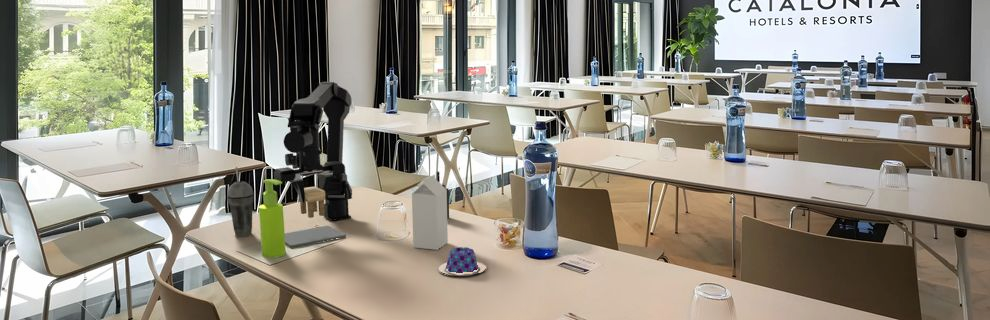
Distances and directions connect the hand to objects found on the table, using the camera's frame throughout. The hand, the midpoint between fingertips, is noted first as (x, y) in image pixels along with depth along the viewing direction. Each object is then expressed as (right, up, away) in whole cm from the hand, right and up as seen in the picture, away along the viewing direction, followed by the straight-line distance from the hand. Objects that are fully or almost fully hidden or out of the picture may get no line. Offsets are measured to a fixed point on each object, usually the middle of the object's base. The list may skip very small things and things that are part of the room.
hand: (312, 201), depth 195 cm
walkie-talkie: (+35, -7, +20) cm, 41 cm away
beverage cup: (-21, -10, +5) cm, 24 cm away
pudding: (+43, -16, -25) cm, 53 cm away
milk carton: (+34, -12, -6) cm, 36 cm away
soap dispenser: (-6, -13, -13) cm, 20 cm away
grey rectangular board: (-1, -10, +1) cm, 11 cm away
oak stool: (0, -4, +1) cm, 4 cm away
